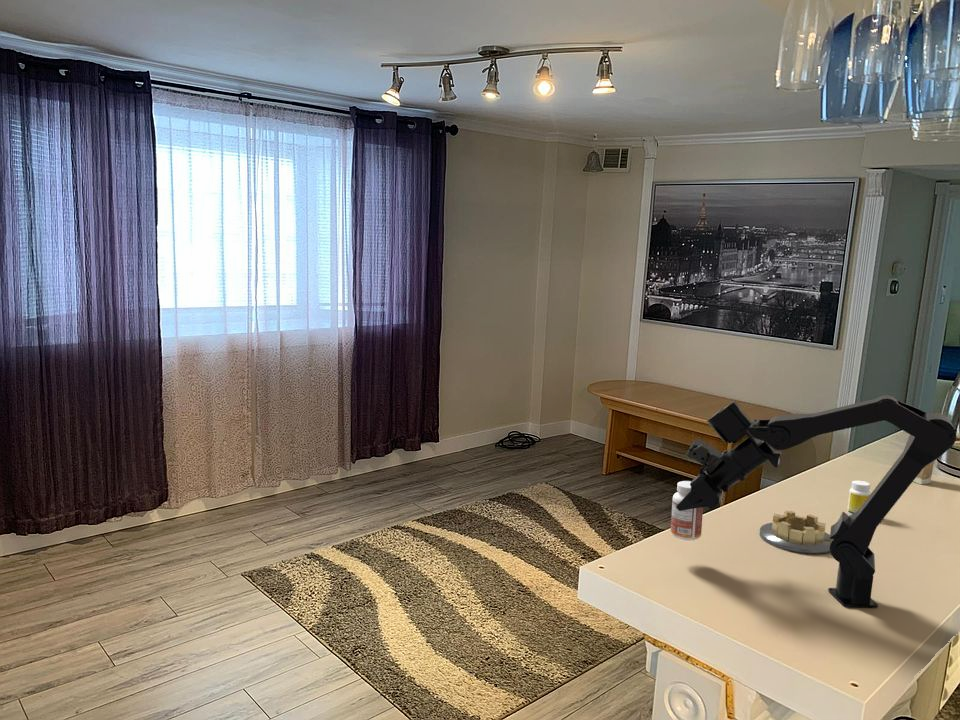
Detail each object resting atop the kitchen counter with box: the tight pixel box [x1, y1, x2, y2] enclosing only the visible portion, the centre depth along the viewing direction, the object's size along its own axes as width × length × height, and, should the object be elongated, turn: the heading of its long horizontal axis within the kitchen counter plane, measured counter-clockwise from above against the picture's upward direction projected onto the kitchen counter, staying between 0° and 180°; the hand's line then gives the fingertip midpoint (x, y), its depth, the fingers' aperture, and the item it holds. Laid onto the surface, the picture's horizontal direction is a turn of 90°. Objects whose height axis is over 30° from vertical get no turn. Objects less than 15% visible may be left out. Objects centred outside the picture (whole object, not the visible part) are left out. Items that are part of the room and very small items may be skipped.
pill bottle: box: [670, 480, 704, 541], centre depth 150 cm, size 6×6×11 cm
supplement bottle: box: [846, 480, 872, 516], centre depth 182 cm, size 5×5×8 cm
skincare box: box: [912, 461, 935, 485], centre depth 211 cm, size 6×4×12 cm
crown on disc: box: [759, 510, 831, 556], centre depth 165 cm, size 16×16×5 cm
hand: (680, 503), depth 150 cm, fingers closed on pill bottle, 6 cm apart
